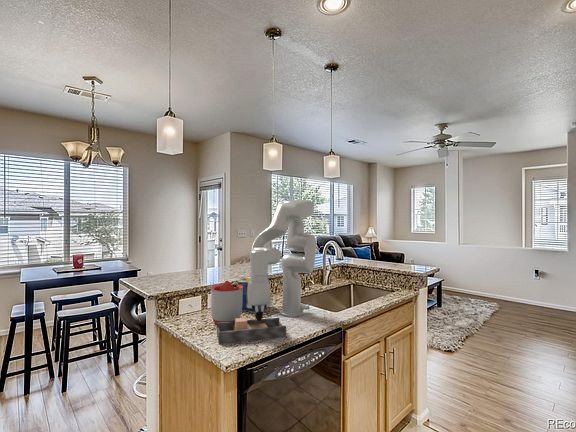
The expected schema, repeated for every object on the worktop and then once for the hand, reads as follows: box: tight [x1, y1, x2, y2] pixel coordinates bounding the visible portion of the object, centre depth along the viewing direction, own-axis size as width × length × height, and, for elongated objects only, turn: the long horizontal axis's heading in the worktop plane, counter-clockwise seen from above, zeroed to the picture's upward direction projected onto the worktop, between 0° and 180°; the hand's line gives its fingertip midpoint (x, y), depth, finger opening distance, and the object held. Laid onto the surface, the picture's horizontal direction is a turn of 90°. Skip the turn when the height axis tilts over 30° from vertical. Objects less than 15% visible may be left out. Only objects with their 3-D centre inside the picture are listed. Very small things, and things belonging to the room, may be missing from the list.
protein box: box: [237, 277, 267, 312], centre depth 173 cm, size 10×15×16 cm
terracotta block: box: [235, 317, 248, 330], centre depth 132 cm, size 4×4×4 cm
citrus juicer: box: [210, 280, 243, 325], centre depth 150 cm, size 16×17×20 cm
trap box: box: [216, 317, 287, 345], centre depth 133 cm, size 28×12×4 cm, turn 107°
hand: (259, 320), depth 135 cm, fingers closed
